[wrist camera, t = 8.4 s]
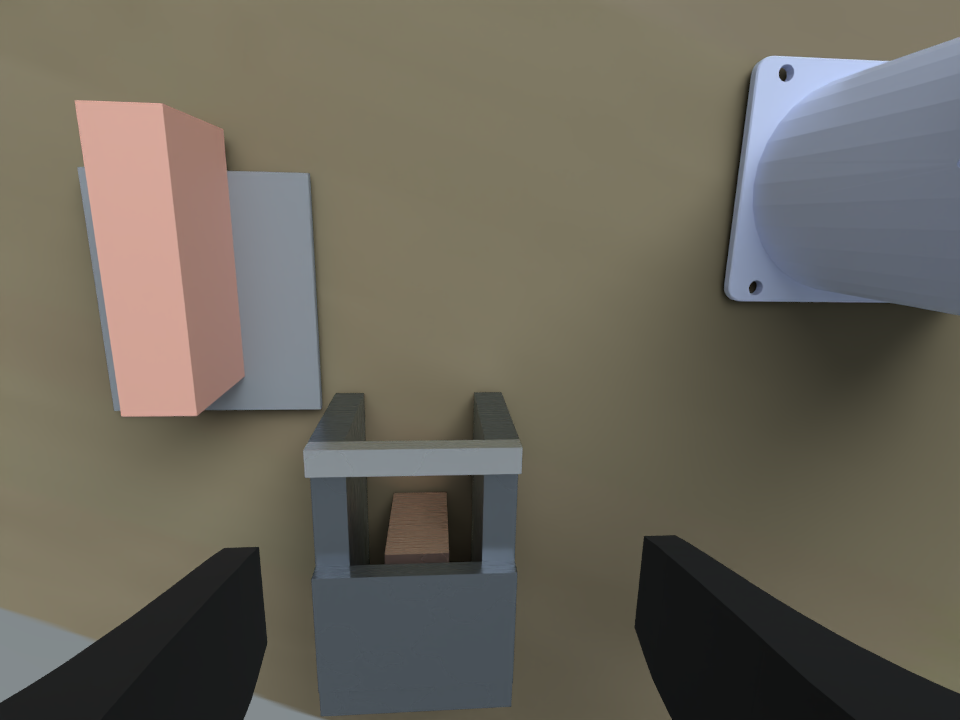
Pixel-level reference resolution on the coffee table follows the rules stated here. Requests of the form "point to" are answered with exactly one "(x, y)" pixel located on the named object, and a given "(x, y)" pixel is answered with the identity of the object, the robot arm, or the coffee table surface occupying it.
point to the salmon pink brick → (163, 254)
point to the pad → (261, 292)
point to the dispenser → (413, 568)
